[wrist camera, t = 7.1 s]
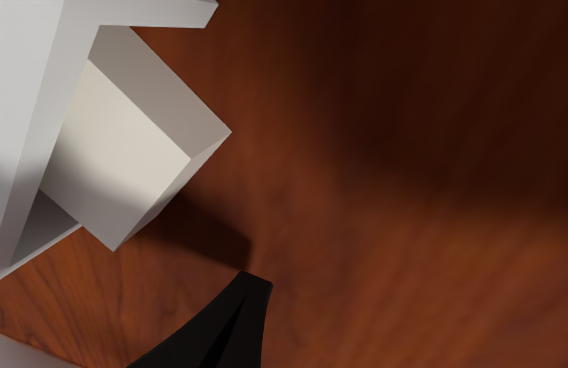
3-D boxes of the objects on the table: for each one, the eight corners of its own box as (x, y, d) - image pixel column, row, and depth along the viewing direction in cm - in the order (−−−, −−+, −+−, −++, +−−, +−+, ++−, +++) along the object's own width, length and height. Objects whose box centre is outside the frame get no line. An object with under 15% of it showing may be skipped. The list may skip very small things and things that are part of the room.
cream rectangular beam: (232, 131, 10) (191, 159, 8) (156, 215, 13) (113, 251, 11) (-14, -121, 8) (-152, -175, 6) (-32, 44, 11) (-127, 46, 9)
